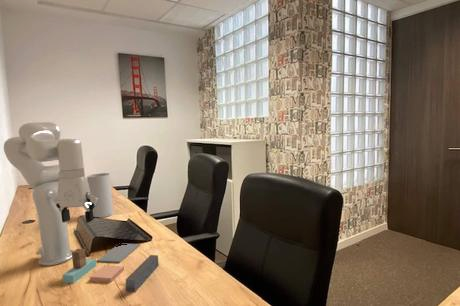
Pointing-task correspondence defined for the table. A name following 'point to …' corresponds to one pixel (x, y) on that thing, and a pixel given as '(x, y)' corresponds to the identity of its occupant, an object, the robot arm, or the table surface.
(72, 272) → the push block
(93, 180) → the cylinder vase
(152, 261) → the bar
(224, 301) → the table surface
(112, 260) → the mat
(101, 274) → the terracotta tile
